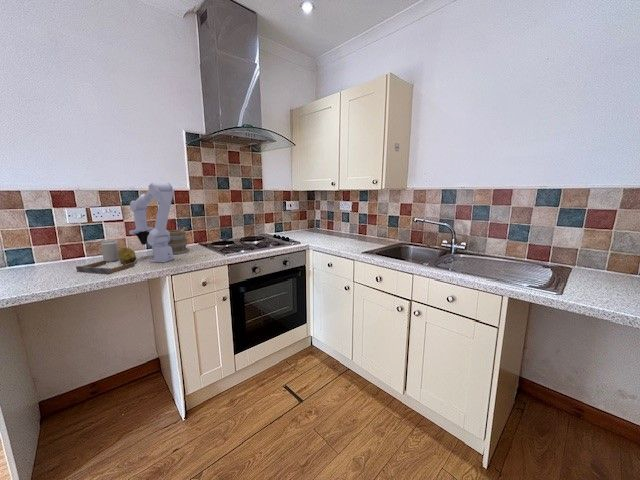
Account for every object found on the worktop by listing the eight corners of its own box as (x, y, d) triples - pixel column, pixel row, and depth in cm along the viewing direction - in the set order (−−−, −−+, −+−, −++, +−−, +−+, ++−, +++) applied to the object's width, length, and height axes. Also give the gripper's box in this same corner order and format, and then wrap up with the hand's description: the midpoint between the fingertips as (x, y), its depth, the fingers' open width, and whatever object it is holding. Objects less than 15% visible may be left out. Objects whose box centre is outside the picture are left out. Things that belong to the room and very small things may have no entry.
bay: (134, 266, 140) (134, 261, 140) (109, 274, 127) (108, 269, 127) (104, 264, 145) (103, 259, 144) (76, 271, 132) (75, 266, 131)
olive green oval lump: (117, 266, 140) (115, 251, 138) (119, 261, 150) (117, 247, 149) (136, 264, 144) (134, 249, 143) (137, 259, 155) (135, 245, 153)
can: (111, 262, 147) (107, 241, 145) (100, 262, 149) (96, 241, 146) (123, 259, 154) (120, 239, 152) (112, 258, 156) (109, 238, 154)
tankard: (179, 255, 163) (177, 231, 160) (161, 254, 164) (158, 230, 162) (198, 248, 182) (196, 226, 179) (181, 247, 184) (178, 226, 181)
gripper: (145, 219, 162) (148, 241, 165) (123, 222, 148) (127, 246, 151) (155, 220, 160) (158, 242, 163) (133, 223, 146) (137, 247, 149)
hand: (143, 244), depth 157 cm, fingers closed
